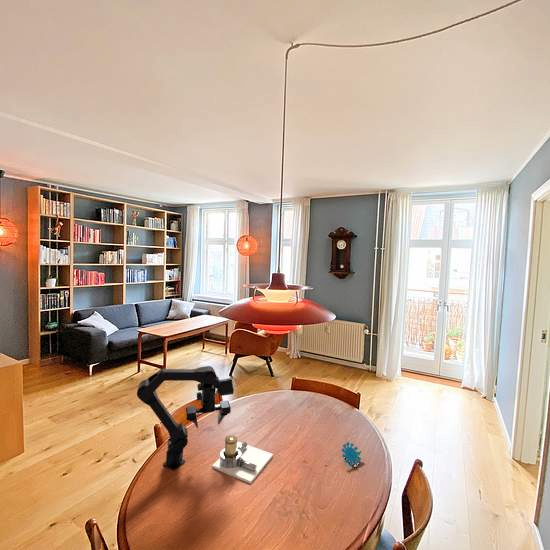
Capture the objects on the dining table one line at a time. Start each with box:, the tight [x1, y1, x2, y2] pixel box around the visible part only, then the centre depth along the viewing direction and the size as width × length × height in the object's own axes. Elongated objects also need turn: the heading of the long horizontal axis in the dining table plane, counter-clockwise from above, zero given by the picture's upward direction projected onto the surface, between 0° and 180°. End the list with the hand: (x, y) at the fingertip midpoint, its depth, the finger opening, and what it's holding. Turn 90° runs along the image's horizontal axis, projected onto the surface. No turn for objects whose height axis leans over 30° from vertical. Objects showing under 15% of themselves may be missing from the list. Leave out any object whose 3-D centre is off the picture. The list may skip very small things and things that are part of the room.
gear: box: [341, 441, 362, 467], centre depth 142 cm, size 11×6×10 cm
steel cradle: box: [219, 441, 257, 472], centre depth 136 cm, size 16×16×4 cm
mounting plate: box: [211, 441, 274, 485], centre depth 136 cm, size 20×18×1 cm
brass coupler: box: [224, 434, 238, 458], centre depth 134 cm, size 5×5×10 cm
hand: (207, 425), depth 140 cm, fingers open, 9 cm apart
